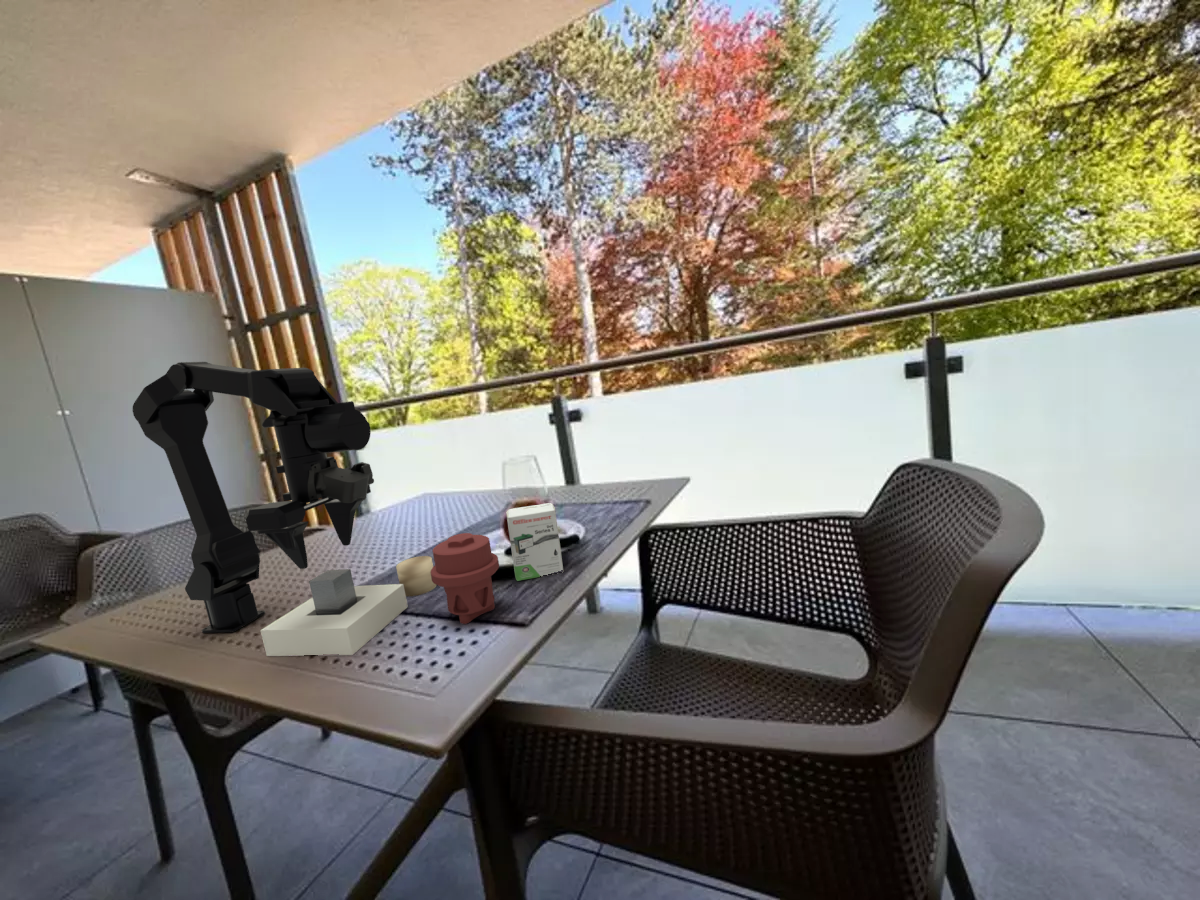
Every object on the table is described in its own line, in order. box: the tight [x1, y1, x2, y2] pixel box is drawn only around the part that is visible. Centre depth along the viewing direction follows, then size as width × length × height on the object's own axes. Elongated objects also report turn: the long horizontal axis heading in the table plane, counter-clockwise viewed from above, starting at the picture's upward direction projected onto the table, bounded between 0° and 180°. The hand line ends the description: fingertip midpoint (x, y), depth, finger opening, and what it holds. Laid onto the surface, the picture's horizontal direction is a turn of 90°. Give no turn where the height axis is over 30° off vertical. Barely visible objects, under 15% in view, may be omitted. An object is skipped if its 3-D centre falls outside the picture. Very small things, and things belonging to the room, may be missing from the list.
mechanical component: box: [430, 532, 500, 625], centre depth 78 cm, size 12×10×10 cm
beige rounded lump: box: [395, 555, 437, 597], centre depth 91 cm, size 6×6×5 cm
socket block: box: [260, 583, 409, 657], centre depth 78 cm, size 14×14×4 cm
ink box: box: [505, 502, 564, 582], centre depth 91 cm, size 9×5×12 cm, turn 102°
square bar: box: [308, 568, 357, 615], centre depth 78 cm, size 4×4×9 cm
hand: (326, 556), depth 77 cm, fingers open, 9 cm apart
